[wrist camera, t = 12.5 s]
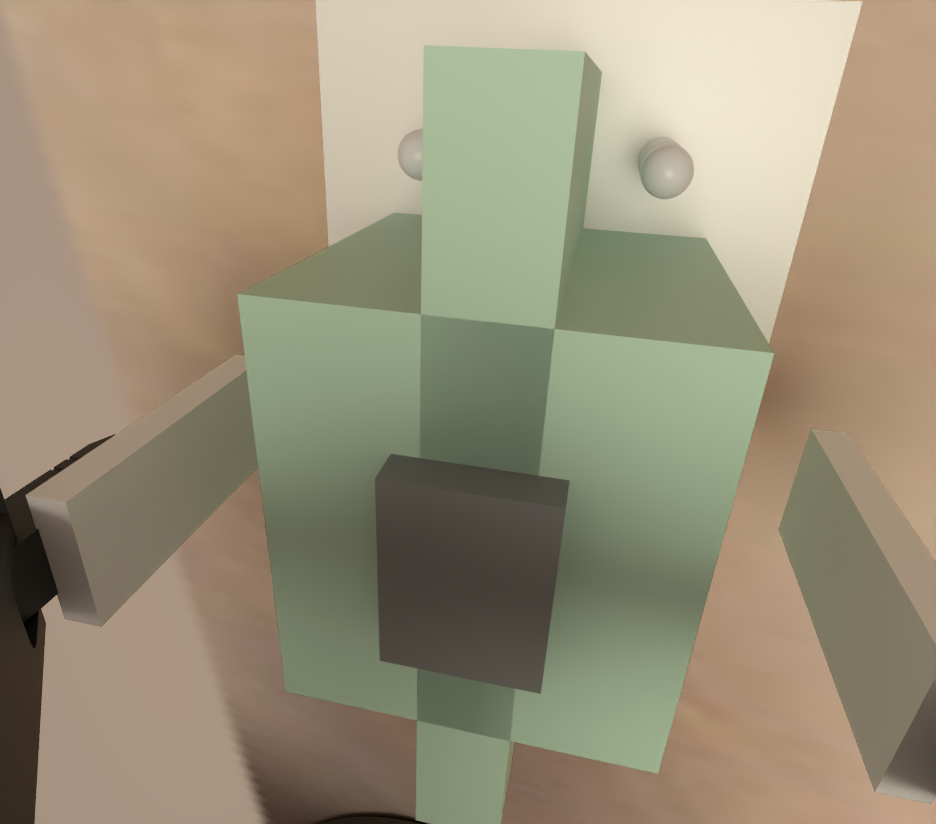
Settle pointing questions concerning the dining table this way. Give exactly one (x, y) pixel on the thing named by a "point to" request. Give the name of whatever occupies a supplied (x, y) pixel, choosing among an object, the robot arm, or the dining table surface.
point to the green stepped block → (500, 444)
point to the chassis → (612, 113)
